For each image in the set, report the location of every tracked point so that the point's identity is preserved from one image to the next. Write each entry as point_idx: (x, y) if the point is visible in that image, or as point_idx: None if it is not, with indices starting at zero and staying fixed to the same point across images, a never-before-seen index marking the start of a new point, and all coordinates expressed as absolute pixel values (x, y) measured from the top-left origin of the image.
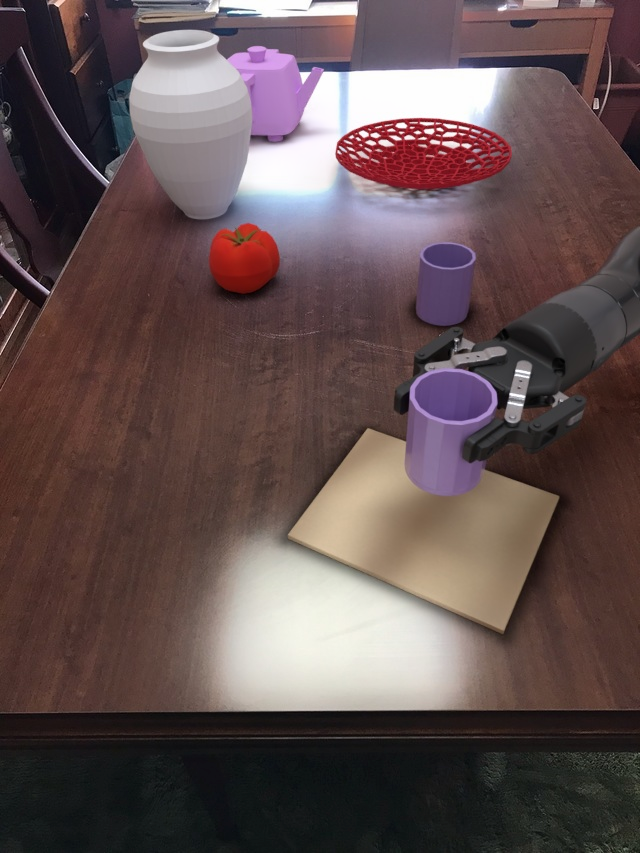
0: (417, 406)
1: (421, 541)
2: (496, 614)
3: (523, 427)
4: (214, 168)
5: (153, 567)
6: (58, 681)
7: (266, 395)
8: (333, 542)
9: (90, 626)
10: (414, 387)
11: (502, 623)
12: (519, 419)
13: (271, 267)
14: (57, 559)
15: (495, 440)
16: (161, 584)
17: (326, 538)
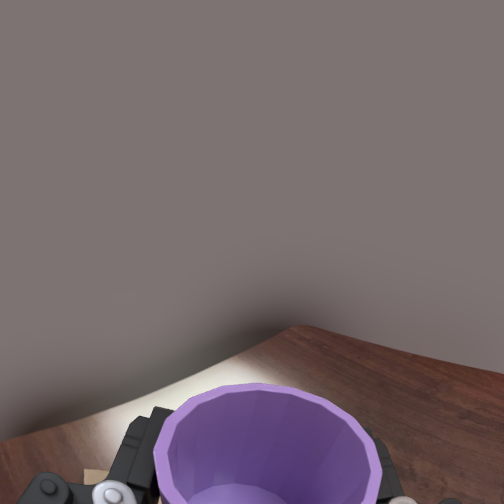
0: (295, 391)
1: None
2: (95, 480)
3: (83, 496)
4: None
5: (344, 382)
6: (299, 333)
7: (488, 499)
8: None
9: (322, 350)
10: (348, 421)
11: (87, 473)
12: (93, 494)
13: None
14: (374, 357)
15: (124, 442)
16: (328, 379)
17: None
